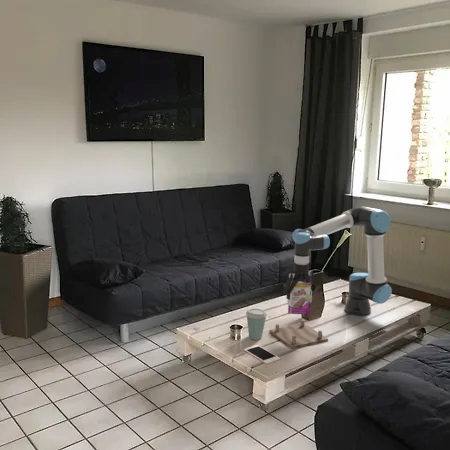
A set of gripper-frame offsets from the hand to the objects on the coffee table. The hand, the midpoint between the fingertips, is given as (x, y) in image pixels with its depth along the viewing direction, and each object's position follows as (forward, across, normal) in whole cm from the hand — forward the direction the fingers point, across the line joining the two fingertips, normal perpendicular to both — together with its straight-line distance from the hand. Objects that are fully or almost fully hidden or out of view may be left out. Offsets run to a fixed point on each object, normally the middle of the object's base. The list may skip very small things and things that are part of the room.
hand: (299, 303), depth 259 cm
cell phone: (+19, +28, +10) cm, 35 cm away
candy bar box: (+5, 0, 0) cm, 5 cm away
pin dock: (+18, 0, 0) cm, 18 cm away
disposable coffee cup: (+19, +21, -8) cm, 29 cm away
